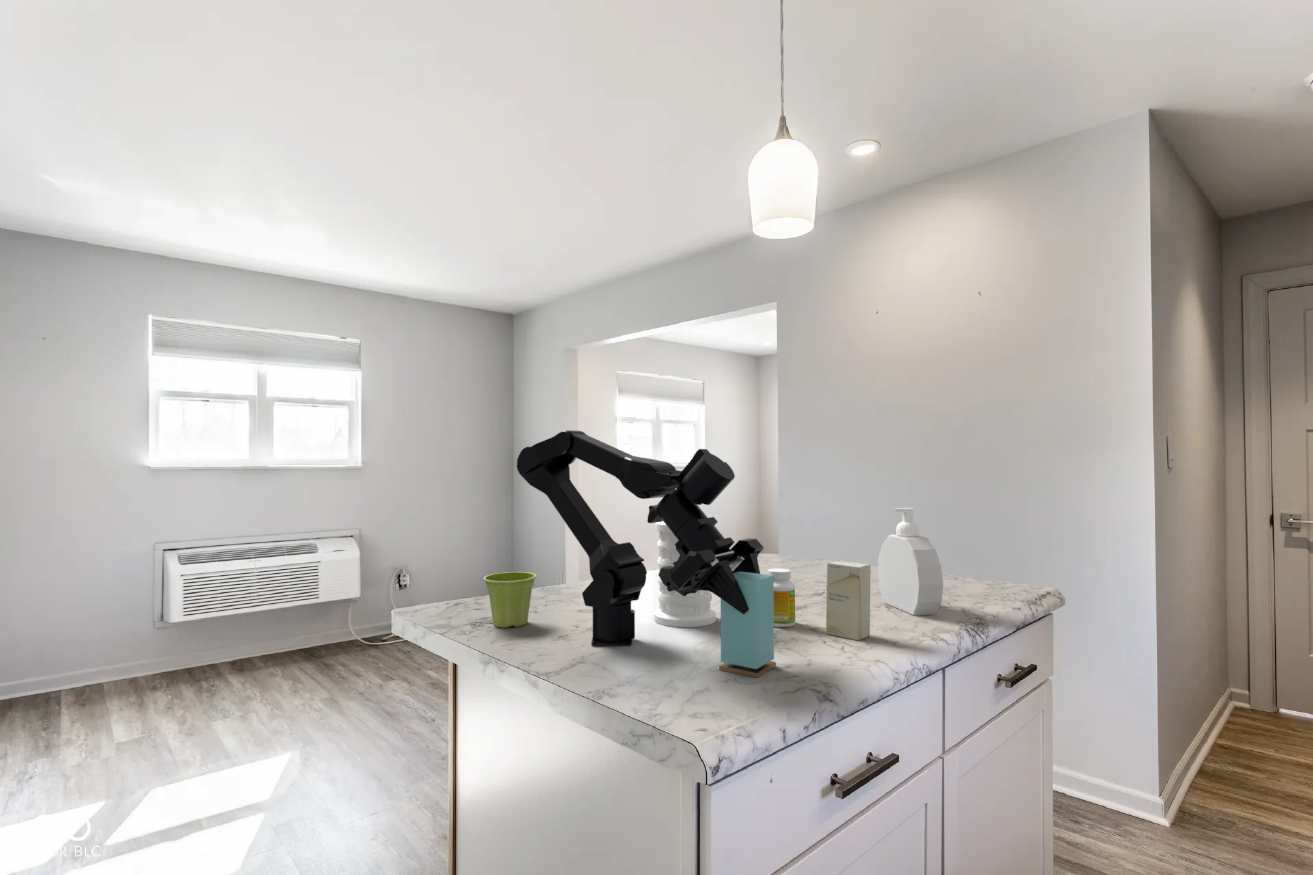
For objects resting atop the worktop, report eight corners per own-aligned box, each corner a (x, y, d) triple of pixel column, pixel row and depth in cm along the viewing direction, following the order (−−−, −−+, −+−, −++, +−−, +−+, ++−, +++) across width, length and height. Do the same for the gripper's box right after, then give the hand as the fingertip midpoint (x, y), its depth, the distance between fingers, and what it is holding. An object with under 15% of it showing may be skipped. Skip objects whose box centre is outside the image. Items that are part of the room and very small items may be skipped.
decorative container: (707, 629, 117) (707, 526, 118) (645, 624, 121) (645, 524, 121) (721, 614, 128) (721, 520, 129) (664, 610, 132) (664, 519, 132)
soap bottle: (876, 600, 140) (874, 505, 141) (899, 599, 141) (898, 505, 141) (918, 618, 124) (916, 511, 125) (944, 617, 125) (942, 511, 126)
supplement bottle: (795, 628, 118) (794, 573, 118) (764, 626, 119) (764, 572, 119) (795, 621, 123) (794, 568, 123) (765, 619, 124) (765, 567, 124)
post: (719, 669, 95) (719, 637, 95) (739, 659, 100) (739, 628, 100) (757, 677, 91) (757, 644, 91) (776, 666, 96) (775, 634, 96)
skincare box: (825, 634, 114) (824, 562, 114) (838, 629, 117) (837, 559, 117) (860, 641, 109) (859, 566, 110) (872, 635, 113) (871, 563, 113)
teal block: (720, 661, 95) (720, 577, 95) (739, 652, 99) (739, 571, 100) (756, 668, 92) (755, 581, 92) (773, 658, 96) (773, 575, 97)
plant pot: (515, 633, 115) (515, 582, 115) (472, 627, 119) (472, 578, 119) (546, 620, 124) (546, 573, 124) (505, 615, 128) (506, 570, 128)
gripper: (691, 552, 112) (750, 628, 106) (623, 568, 97) (687, 657, 90) (732, 508, 108) (796, 584, 101) (667, 516, 93) (738, 606, 86)
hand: (756, 608), depth 95 cm, fingers closed on teal block, 5 cm apart
